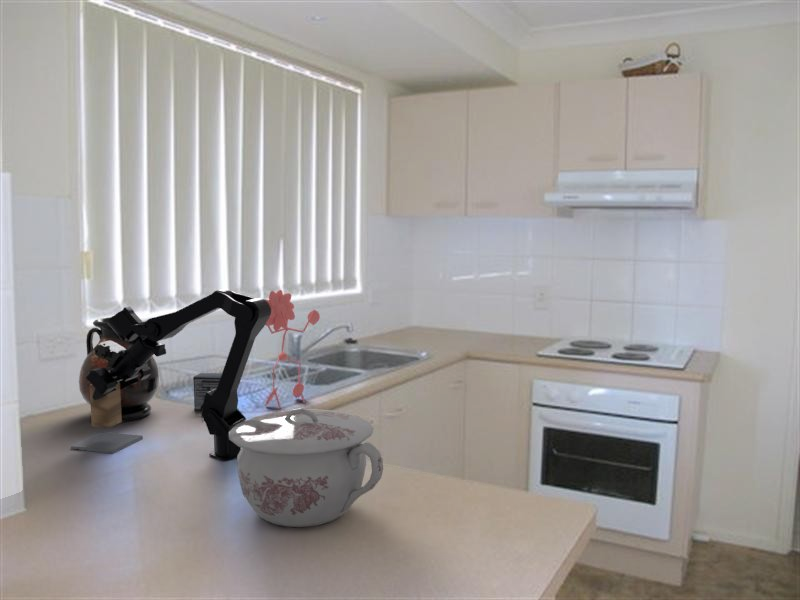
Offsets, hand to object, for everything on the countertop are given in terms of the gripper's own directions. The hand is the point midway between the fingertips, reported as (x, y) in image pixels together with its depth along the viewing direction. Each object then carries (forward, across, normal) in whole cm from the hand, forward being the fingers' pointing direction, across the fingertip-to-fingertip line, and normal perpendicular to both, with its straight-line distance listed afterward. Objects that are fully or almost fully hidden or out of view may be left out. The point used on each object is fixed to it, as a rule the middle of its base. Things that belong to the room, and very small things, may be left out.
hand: (100, 396), depth 177 cm
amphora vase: (+17, -23, 0) cm, 29 cm away
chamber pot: (-37, +27, +55) cm, 71 cm away
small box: (+1, -37, +16) cm, 40 cm away
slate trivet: (+8, 0, +10) cm, 12 cm away
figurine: (-10, -49, +27) cm, 57 cm away
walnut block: (+4, 0, +6) cm, 7 cm away
